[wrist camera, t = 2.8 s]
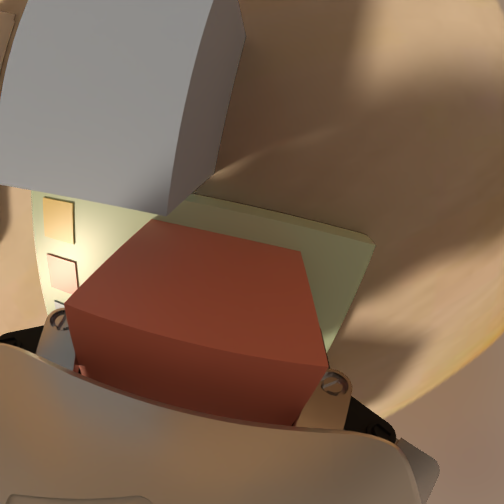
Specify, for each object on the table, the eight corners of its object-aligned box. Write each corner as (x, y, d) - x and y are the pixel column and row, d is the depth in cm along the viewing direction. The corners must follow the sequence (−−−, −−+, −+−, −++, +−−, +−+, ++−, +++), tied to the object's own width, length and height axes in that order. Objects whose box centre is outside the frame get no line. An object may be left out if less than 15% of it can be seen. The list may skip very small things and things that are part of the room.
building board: (45, 170, 11) (29, 175, 10) (366, 234, 12) (376, 246, 11) (77, 377, 18) (70, 388, 16) (273, 428, 18) (273, 442, 17)
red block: (151, 218, 11) (63, 303, 5) (300, 251, 11) (328, 366, 6) (147, 332, 13) (101, 428, 8) (264, 358, 13) (261, 466, 8)
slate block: (116, 32, 8) (30, -5, 3) (246, 37, 9) (228, -41, 3) (91, 154, 11) (-5, 183, 5) (214, 173, 11) (166, 216, 6)
